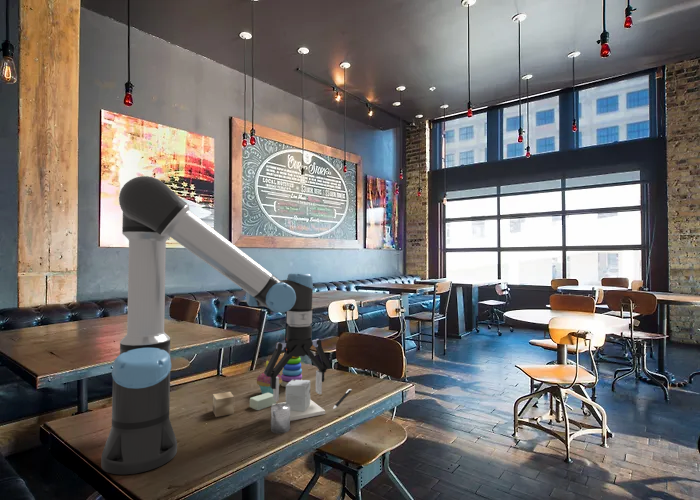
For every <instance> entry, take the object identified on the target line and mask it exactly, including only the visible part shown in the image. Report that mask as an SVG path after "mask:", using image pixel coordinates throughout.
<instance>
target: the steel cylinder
mask: <svg viewBox="0 0 700 500" xmlns="http://www.w3.org/2000/svg"><path fill="white" fill-rule="evenodd" d="M278 403H279V404H277V403H276V404H274V405H272V406H270V431H271V432H272V433H273V434H284V433H288V432H290V430H291V421H290V405H289V404H285V403H283V402H278Z"/></svg>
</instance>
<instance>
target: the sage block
mask: <svg viewBox="0 0 700 500" xmlns="http://www.w3.org/2000/svg"><path fill="white" fill-rule="evenodd" d="M272 404H277V401H275V400H274V399H273V394H271V393H269V392H268V393H265V394H262V393H261V394H259V395H256V396H252V397H250V398H249V408H251V409H253V410H256V411H261V410H263V409H266V408H269V407H271V406H272Z"/></svg>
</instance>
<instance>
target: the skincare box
mask: <svg viewBox="0 0 700 500" xmlns="http://www.w3.org/2000/svg"><path fill="white" fill-rule="evenodd" d="M310 399H311V380H308V379H302V380H291V381H290V382H289V383H288V384H287V385H286V387H285V402H286V404H289V405H290V410H292V411H305V410H306V409H307V408H308V406H309V405H310Z"/></svg>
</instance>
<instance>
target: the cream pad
mask: <svg viewBox="0 0 700 500" xmlns="http://www.w3.org/2000/svg"><path fill="white" fill-rule="evenodd" d="M279 403H280V402H278V403H277V402H276V404H279ZM282 403H285V404H286V401H283V402H282ZM272 405H274V404H272ZM325 414H326V410H325V409H324V408H323V407H321V406H320V405H319V404H317V403H316V402H315V401H313V400H312V399H311V398H310V405H309V406H308V408H307V409H306V410H305V411H292V410H290V422H291V421H297V420H302V419H308V418H311V417H317V416H323V415H325Z"/></svg>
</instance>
